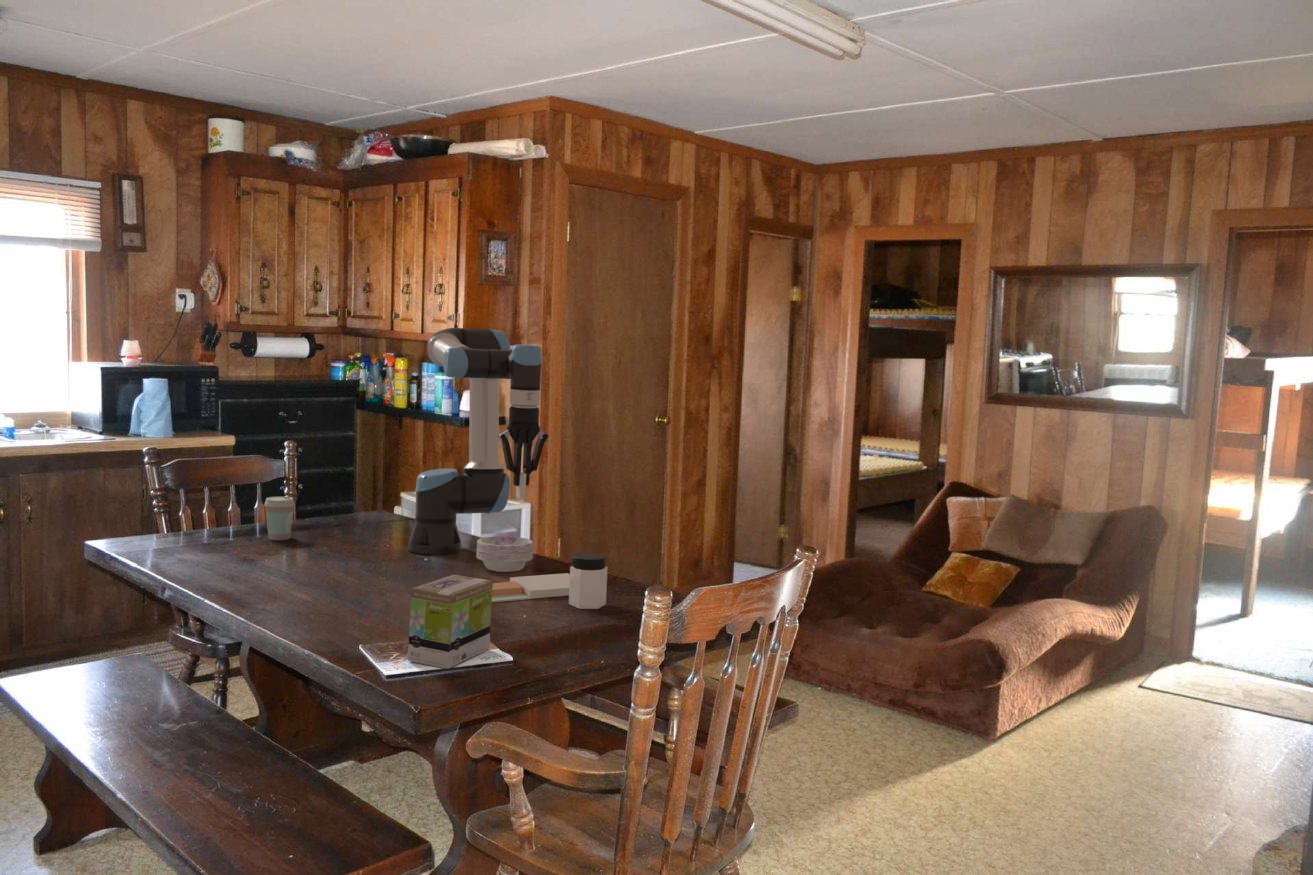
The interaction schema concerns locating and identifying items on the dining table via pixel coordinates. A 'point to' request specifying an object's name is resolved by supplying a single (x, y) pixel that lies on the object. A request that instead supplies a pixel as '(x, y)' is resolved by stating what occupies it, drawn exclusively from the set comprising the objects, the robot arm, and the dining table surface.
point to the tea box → (449, 620)
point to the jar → (588, 581)
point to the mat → (509, 597)
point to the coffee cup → (279, 517)
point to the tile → (506, 588)
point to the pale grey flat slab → (544, 585)
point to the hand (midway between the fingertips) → (520, 498)
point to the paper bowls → (504, 553)
